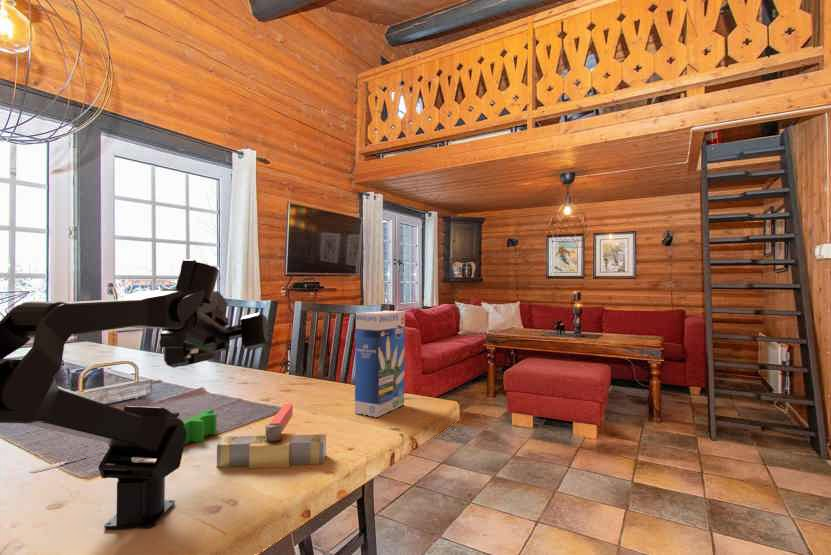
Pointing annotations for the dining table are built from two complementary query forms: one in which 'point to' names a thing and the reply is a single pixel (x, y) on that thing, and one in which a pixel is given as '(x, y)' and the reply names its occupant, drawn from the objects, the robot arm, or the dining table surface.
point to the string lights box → (379, 362)
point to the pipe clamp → (200, 426)
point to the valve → (271, 451)
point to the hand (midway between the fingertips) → (237, 350)
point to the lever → (279, 423)
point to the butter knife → (47, 467)
